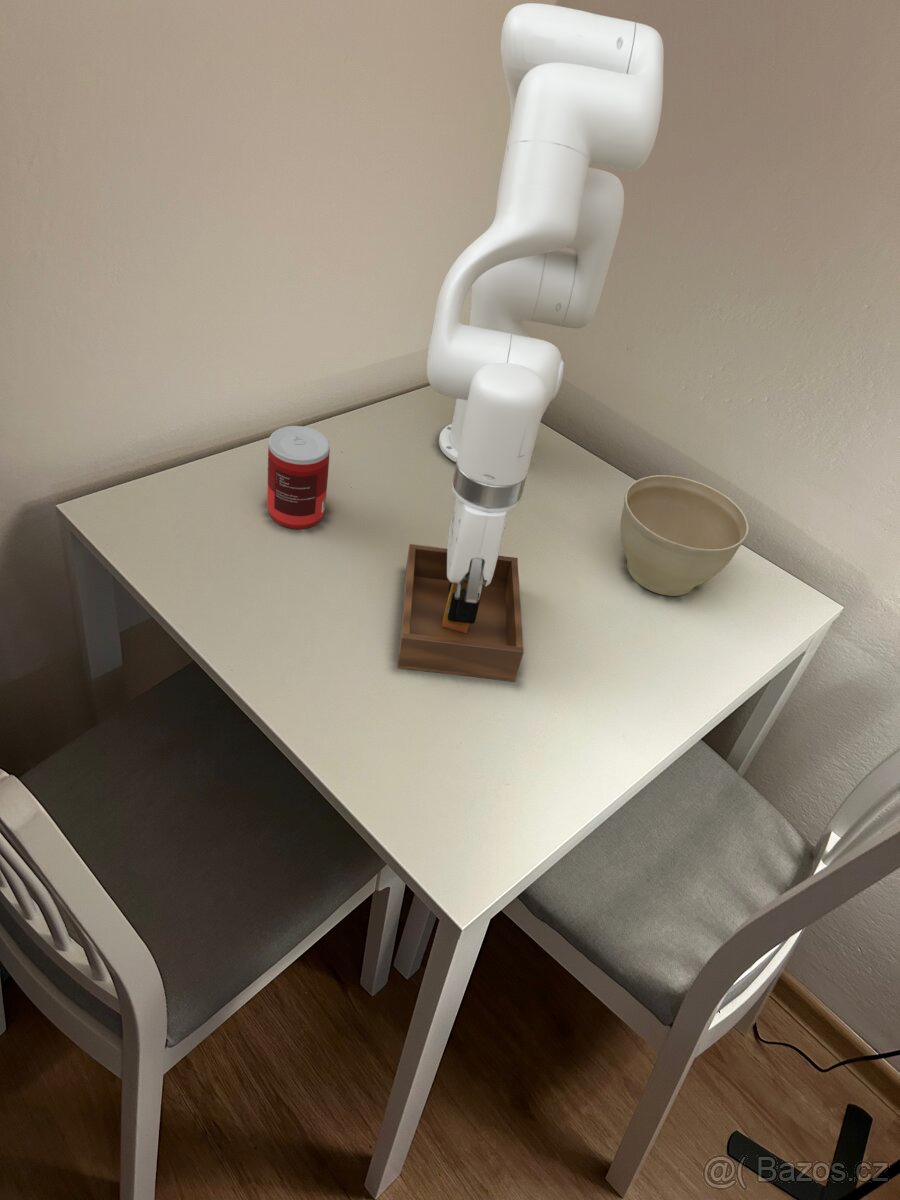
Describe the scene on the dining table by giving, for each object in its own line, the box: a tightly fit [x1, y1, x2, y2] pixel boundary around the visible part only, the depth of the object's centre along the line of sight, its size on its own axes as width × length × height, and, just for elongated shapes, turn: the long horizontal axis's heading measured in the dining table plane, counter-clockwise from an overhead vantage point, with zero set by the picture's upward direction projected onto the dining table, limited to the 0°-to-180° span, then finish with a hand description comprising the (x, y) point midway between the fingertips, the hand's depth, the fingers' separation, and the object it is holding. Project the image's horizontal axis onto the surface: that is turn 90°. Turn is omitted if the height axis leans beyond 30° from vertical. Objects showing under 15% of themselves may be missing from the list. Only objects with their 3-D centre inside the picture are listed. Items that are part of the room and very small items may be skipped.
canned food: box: [266, 425, 331, 530], centre depth 116 cm, size 8×8×11 cm
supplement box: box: [442, 572, 470, 633], centre depth 105 cm, size 3×3×10 cm
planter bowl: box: [619, 474, 750, 597], centre depth 119 cm, size 16×16×11 cm
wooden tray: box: [396, 543, 524, 682], centre depth 107 cm, size 17×14×5 cm
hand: (461, 605), depth 106 cm, fingers open, 4 cm apart
